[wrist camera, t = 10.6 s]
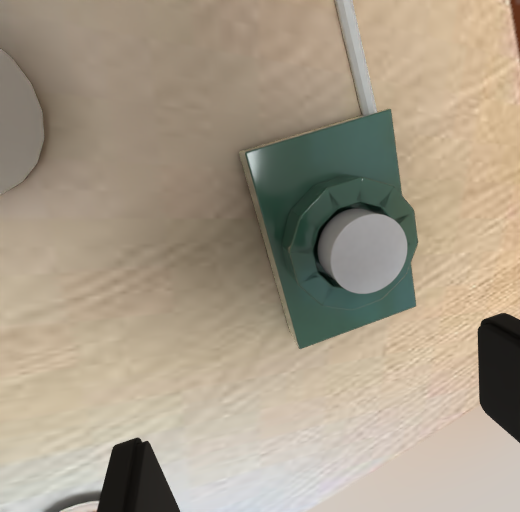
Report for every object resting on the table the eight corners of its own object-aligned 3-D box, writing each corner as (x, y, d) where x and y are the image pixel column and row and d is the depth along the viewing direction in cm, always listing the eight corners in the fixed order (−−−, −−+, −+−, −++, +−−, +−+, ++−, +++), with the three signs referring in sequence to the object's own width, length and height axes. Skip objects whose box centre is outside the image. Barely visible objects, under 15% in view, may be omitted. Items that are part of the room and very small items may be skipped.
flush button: (309, 221, 17) (322, 229, 15) (382, 197, 18) (402, 202, 16) (325, 291, 18) (339, 305, 17) (392, 267, 19) (412, 278, 17)
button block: (238, 151, 19) (251, 152, 15) (370, 112, 20) (413, 103, 16) (289, 332, 23) (309, 367, 19) (397, 293, 24) (436, 319, 20)
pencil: (382, 204, 21) (311, -93, 16) (382, 199, 22) (314, -85, 17) (397, 200, 21) (329, -104, 16) (396, 196, 22) (331, -97, 16)
